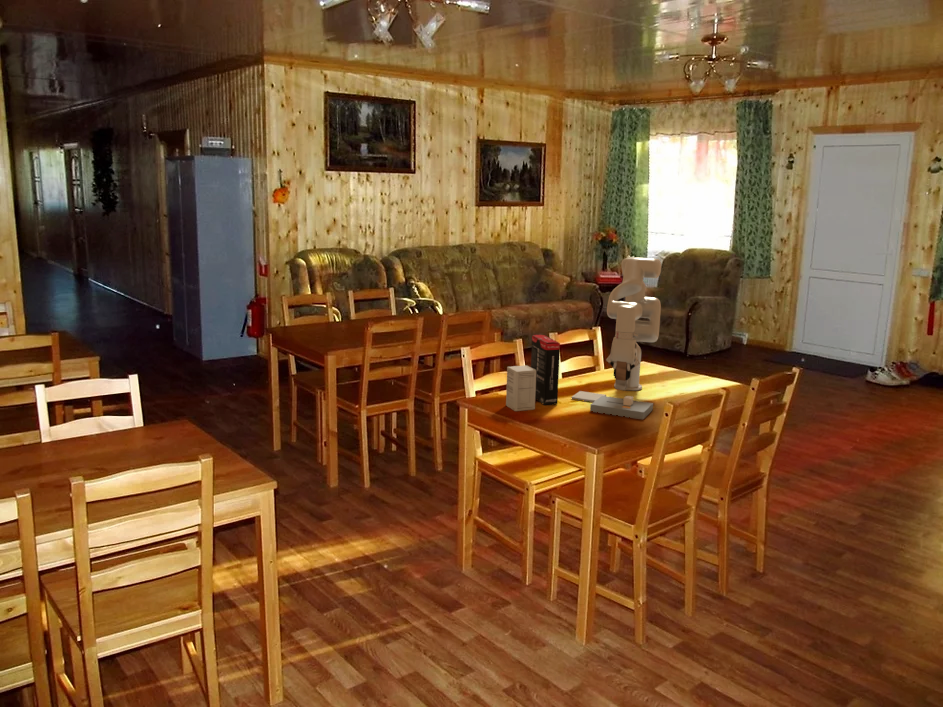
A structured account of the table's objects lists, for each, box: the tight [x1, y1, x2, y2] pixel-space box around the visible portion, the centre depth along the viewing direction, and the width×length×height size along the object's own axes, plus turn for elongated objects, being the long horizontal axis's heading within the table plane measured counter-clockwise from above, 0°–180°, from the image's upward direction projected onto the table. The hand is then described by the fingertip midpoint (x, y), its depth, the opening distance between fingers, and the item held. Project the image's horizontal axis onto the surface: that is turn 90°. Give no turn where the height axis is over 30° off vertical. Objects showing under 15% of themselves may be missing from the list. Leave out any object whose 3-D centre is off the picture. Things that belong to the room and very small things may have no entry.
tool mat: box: [570, 390, 607, 403], centre depth 351 cm, size 12×12×1 cm
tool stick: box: [614, 361, 628, 391], centre depth 330 cm, size 4×4×14 cm
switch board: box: [589, 395, 654, 421], centre depth 332 cm, size 16×22×3 cm
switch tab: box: [623, 395, 634, 406], centre depth 331 cm, size 4×3×3 cm
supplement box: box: [505, 364, 536, 412], centre depth 331 cm, size 10×9×17 cm
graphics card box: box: [530, 334, 561, 406], centre depth 342 cm, size 17×7×27 cm, turn 18°
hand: (621, 378), depth 331 cm, fingers closed on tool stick, 4 cm apart
